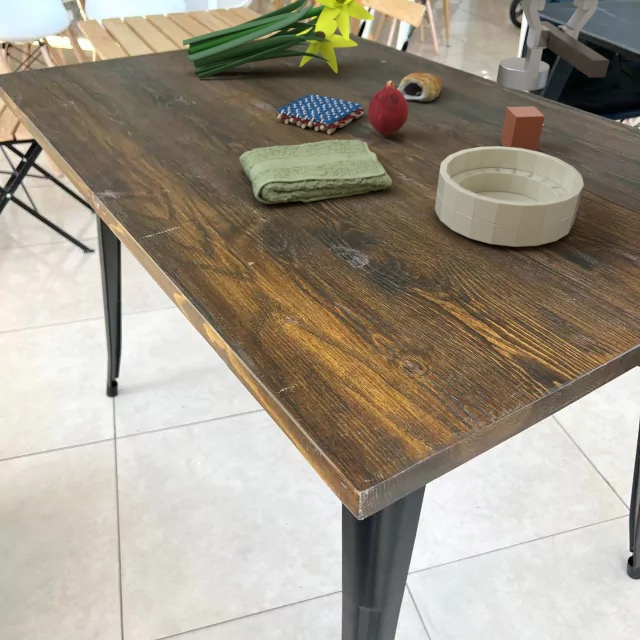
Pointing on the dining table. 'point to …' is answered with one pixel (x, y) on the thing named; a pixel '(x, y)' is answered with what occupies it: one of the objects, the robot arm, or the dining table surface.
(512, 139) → the terracotta upright block
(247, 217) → the dining table surface
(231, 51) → the daffodil flowers
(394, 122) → the onion
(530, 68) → the ladle
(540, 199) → the bowl
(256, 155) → the washcloth
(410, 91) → the pastry
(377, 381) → the dining table surface
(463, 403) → the dining table surface
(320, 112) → the woven mat
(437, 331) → the dining table surface
